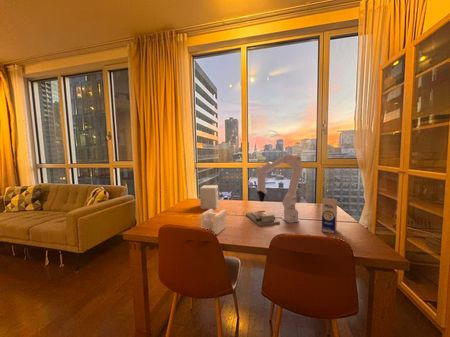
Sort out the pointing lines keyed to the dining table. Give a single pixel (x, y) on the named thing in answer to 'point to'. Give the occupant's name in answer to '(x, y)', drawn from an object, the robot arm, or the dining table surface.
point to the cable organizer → (214, 220)
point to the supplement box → (209, 197)
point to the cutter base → (263, 219)
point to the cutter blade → (261, 213)
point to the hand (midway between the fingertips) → (261, 201)
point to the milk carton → (329, 215)
